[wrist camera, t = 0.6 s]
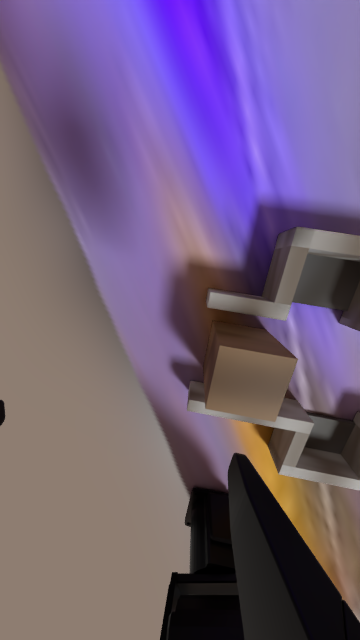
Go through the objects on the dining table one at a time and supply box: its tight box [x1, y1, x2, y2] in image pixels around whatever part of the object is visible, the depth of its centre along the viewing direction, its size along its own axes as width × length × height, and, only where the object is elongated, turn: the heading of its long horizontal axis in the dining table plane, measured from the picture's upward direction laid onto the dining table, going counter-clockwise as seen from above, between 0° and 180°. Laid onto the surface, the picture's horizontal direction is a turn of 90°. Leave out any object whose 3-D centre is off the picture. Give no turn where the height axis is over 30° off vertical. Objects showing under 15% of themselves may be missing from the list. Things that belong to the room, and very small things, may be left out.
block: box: [203, 321, 298, 422], centre depth 16 cm, size 5×5×6 cm
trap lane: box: [187, 227, 360, 490], centre depth 17 cm, size 25×21×4 cm
